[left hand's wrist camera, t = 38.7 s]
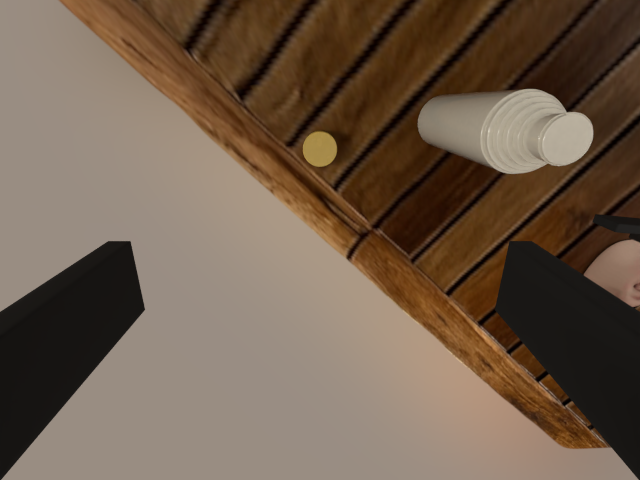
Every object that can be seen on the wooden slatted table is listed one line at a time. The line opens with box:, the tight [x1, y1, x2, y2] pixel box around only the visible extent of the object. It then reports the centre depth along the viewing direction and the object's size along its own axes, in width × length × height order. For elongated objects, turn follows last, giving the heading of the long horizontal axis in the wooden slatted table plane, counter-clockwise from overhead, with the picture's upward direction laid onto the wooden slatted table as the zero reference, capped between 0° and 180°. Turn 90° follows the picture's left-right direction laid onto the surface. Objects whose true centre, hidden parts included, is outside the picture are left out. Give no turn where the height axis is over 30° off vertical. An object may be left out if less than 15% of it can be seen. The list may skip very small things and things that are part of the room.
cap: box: [303, 131, 337, 167], centre depth 47 cm, size 5×4×2 cm
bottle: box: [418, 89, 593, 174], centre depth 35 cm, size 7×7×26 cm
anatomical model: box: [584, 240, 640, 307], centre depth 53 cm, size 13×4×12 cm
